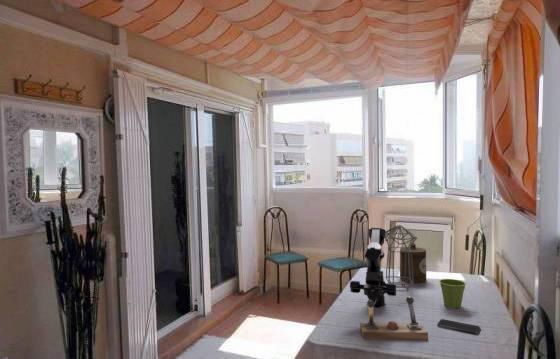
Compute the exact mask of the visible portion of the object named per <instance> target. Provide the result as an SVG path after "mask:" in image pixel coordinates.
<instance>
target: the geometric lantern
mask: <svg viewBox="0 0 560 359" xmlns="http://www.w3.org/2000/svg"><path fill="white" fill-rule="evenodd" d="M385 231H386V238H384V242H386V243H387V257H386V268H385V269H386V271H385V279H386V281H387V283H391V284H395V285H396V292H408V291H409V287H411V286H412V285H414V284H415V283H414V280H413V261H412V250H410V249H409V247H410V244H411V243H412V247H413V243H415V241H416V240H417V239H418V236H415V234H413V233H412V232H411V231H409V230H408V229H406V228H405V227H404V226H403V225H400V224H399V225H395V226H393V227H392V228H390V229H388V230H385ZM403 231H404V232H403ZM396 235H397V237H396ZM407 235H409V236H410V238H408V237H407V238H405V237H406V236H407ZM389 239H390V240H391V239H392V241H391V244H390V243H389V242H390V241H389ZM406 240H407V241H406ZM399 241H402V242H401V243H400V242H399ZM405 241H406V242H405ZM394 242H395V243H396V244H397V245H396V246H392V245H393V243H394ZM408 243H409V244H408ZM406 244H408V246H407V245H406ZM400 245H404V246H400ZM405 247H406V248H405ZM407 247H408V248H407ZM392 248H395V249H394V250H392ZM398 248H399V249H400V248H405V277H400V276H397V275H396V276H394V274H395V269H394V266H395V264H394V260H395V259H394V258H395V257H394V254H395V253H399V251H396V249H398ZM406 249H407V251H408V266H409V278H408V277H406ZM409 250H410V252H411V262H412V280H411V272H410V252H409ZM391 261H392V262H391ZM391 263H392V264H391ZM391 265H392V276H391ZM390 278H392V281H391V279H390ZM395 278H399V279H400V278H404V279H405V278H408V280H409V279H410V283H408V282H407V281H408V280H407V281H406V282H404V280H403V281H398V282H397V281H395ZM412 281H413V282H412ZM411 282H412V283H411ZM397 288H399V289H397ZM400 288H402V289H400ZM404 288H405V289H404Z"/></svg>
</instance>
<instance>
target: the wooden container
mask: <svg viewBox="0 0 560 359" xmlns="http://www.w3.org/2000/svg"><path fill="white" fill-rule="evenodd" d="M409 244H410V243H409ZM416 245H417V244H416V243H415V242H414V243H413V247H412V242H411V244H410V246H409V249H410V250H412V261H413V280H414V284H422V283H426V282H427V249H426V248H424V247H418V246H416ZM404 247H405V246H404ZM406 247H407V248H408V246H406ZM406 247H405V248H406ZM405 248H399V277H405ZM410 250H409V252H410ZM410 272H411V280H412V262H411V252H410ZM406 277H408V278H409V266H408V251H407V249H406ZM408 278H405V279H404V278H399V279H400V281H401V282H403V280H404V281H405V282H406V281H407V280H408ZM405 282H404V283H405ZM412 282H413V281H412ZM412 282H411V284H412ZM406 283H408V284H410V279H409V280H408V281H407V282H406Z"/></svg>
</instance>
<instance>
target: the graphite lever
mask: <svg viewBox="0 0 560 359" xmlns="http://www.w3.org/2000/svg"><path fill="white" fill-rule="evenodd" d="M405 301H406V303H407V305H408V306H407V307H408V311H409V315H410V322H409V323H410V325H418V323H419V322H417V320H416V314H415V307H414V298H413V296H407V297H406V299H405Z"/></svg>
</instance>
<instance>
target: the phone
mask: <svg viewBox="0 0 560 359" xmlns="http://www.w3.org/2000/svg"><path fill="white" fill-rule="evenodd" d="M436 326H437V328H442V329H447V330H452V331H456V332H460V333H465V334H471V335H474V336H476V335H477V336H478V335H479V333H480V331H481V327H480V325H476V324H471V323H470V324H469V323H465V322H458V321H455V320H449V319H446V318H445V319H443V318H442V319H439V321H438V322H437V325H436Z"/></svg>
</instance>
